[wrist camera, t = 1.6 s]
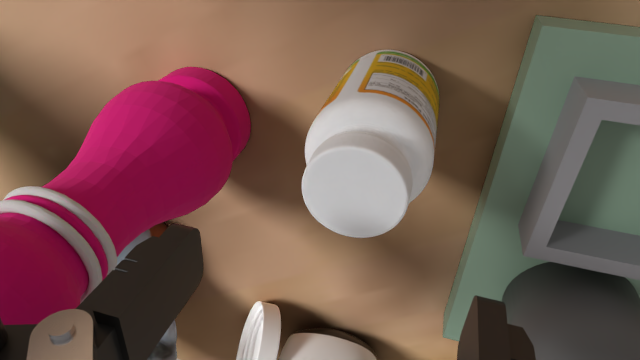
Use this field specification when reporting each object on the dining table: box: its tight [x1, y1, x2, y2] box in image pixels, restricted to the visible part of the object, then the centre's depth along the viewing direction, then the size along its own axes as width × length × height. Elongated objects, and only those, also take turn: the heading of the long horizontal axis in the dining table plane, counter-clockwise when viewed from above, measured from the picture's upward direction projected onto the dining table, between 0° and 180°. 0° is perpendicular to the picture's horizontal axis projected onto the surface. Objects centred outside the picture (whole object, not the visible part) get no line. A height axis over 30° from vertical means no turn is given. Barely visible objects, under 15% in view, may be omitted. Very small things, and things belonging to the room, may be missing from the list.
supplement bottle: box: [302, 50, 439, 238], centre depth 20 cm, size 5×5×10 cm
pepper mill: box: [0, 67, 251, 325], centre depth 20 cm, size 7×7×20 cm
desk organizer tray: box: [443, 15, 640, 360], centre depth 22 cm, size 20×12×8 cm, turn 177°
